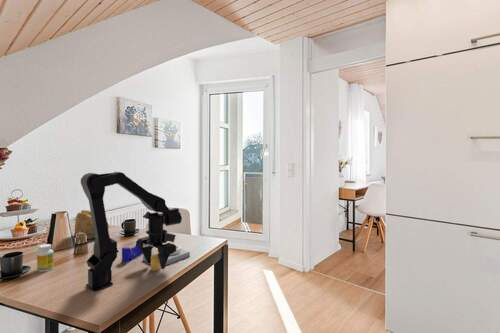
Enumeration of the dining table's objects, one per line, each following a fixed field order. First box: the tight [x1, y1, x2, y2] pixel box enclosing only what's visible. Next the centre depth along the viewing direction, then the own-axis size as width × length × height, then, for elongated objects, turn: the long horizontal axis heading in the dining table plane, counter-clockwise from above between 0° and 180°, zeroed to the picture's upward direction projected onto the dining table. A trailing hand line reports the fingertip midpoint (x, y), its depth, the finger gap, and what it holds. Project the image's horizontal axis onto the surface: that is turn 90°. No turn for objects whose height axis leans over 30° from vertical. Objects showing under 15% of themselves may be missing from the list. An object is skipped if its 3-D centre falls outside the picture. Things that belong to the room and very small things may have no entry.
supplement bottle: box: [36, 243, 55, 273], centre depth 112 cm, size 5×5×10 cm
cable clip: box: [121, 240, 143, 263], centre depth 127 cm, size 12×4×6 cm, turn 169°
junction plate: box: [142, 244, 191, 266], centre depth 126 cm, size 16×12×4 cm
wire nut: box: [150, 253, 162, 272], centre depth 114 cm, size 4×4×6 cm
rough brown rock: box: [73, 209, 110, 240], centre depth 156 cm, size 23×17×15 cm
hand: (155, 266), depth 114 cm, fingers open, 9 cm apart
